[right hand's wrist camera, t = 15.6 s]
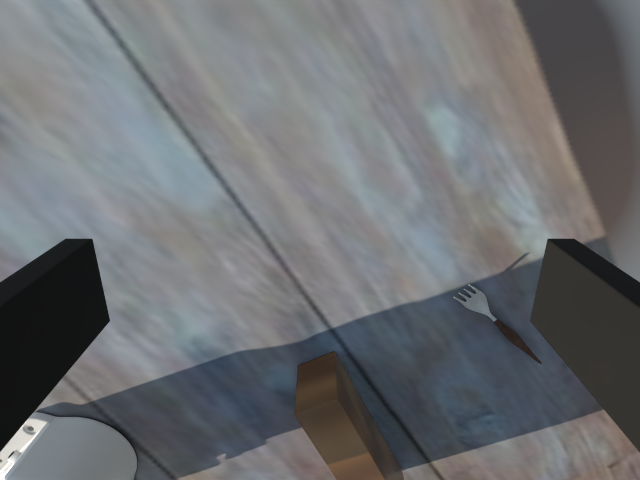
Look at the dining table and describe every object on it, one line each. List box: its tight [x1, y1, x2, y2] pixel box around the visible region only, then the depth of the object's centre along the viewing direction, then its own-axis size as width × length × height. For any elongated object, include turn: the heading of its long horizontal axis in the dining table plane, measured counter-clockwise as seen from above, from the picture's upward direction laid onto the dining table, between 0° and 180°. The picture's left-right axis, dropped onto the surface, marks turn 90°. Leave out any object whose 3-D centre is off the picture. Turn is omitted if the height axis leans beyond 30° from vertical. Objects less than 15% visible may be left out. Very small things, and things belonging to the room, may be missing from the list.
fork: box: [454, 285, 541, 364], centre depth 50 cm, size 3×16×2 cm, turn 47°
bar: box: [294, 351, 404, 480], centre depth 53 cm, size 22×5×8 cm, turn 26°
